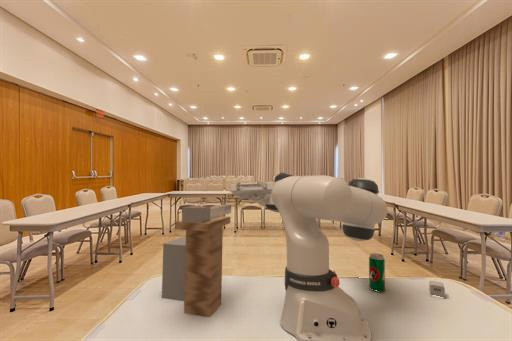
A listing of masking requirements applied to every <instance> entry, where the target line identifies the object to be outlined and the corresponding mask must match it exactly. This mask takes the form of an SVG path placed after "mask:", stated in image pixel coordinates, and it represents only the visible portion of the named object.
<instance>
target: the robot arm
mask: <svg viewBox="0 0 512 341" xmlns="http://www.w3.org/2000/svg"><path fill="white" fill-rule="evenodd" d="M379 192H380V191H379V186H378V183H376V182H375V181H374V180H372V179H369V178H366V177H365V178H364V177H359V178H355V179H354V178H353V179H351V180H350V181H349V182H347V181H346V180H344V179H343V178H339V177H335V176H330V175H325V174H322V175H320V174H319V175H316V174H315V175H294V174H293V175H292V174H290V173H286V172H280V173H278V174H277V175H276V176H275V177H274V181H261V180H257V181H256V182H243V183H241V182H239V181H238V182H237V181H236V182H235V183H232V184H231V185H230V193H231V194H233V195H234V196H235V197H238V198H239V200H241V201H242V200H243V201H250V202H255V203H256V204H257V205H260V206H261V207H263V208H264V207H265V208H266V209H267V210H269V211H271V212H274V213H279V215H280V218H281V222H282V224H283V225H282V226H283V229H284V234H285V240H286V242H285V243H286V267H285V269H284V289H285V296H284V301H283V302H284V303H283V309H282V313H281V316H280V319H279V320H280V321H279V322H280V326H281V327H282V328H283V329H284V330H285V331H286V332H288V333H289V334H291V335H292V336H294V337H295V338H296V339H297V340H298V341H372V330H371V327H370V324H369V323H368V321H367V320H366V318H364V317H363V316H361V311H360V308H359V306H358V304H357V302H356V300H355V299H354V298H353V297H352V296H350V294H348V293H347V292H346V291H344V289H342V288H341V287H339V286H340V284H341V282H340V279H339V278H338V274H336V270H333V271H332V270H331V269H330V243H329V239H328V237H327V236H326V235H325V233H324V232H323V231H322V230H321V228H320V225H319V223H318V221H317V219H318V220H323V221H331V222H340V223H343V224H342V226H341V227H342V231H343V234H344V235H345V236H346V237H348V238H349V239H351V240H353V241H356V242H365V241H370V240H371V239H373V237H374V234H375V226H376V225H377V224H380V223H382V222H383V221H385V219H386V217H387V215H388V205H387V203H386V201H385V199H383V197H381V196H379V195H378V194H379Z"/></svg>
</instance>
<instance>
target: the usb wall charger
mask: <svg viewBox="0 0 512 341" xmlns="http://www.w3.org/2000/svg"><path fill="white" fill-rule="evenodd" d="M428 286H429V288H428V289H429V295H430V294H431V295H436V296H440V297H443V298H444V299H446V288H445V285H444V283H443V282H442V281H437V280H436V281H435V280H430V281H429V283H428ZM431 295H430V296H431Z"/></svg>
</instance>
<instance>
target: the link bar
mask: <svg viewBox="0 0 512 341" xmlns="http://www.w3.org/2000/svg"><path fill="white" fill-rule="evenodd" d="M181 209H182V211H181V213H182V214H181V220H182V222H187V223H205V222H208V221H210V219H213V218H216V217H219V216H225V215H226V216H227V215H229V214H231V213H232V204H218V205H214V206H203V205H202V206H201V205H188V206H183V207H182V208H181Z"/></svg>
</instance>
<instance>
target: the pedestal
mask: <svg viewBox="0 0 512 341" xmlns="http://www.w3.org/2000/svg"><path fill="white" fill-rule="evenodd" d="M162 246H163V247H162V248H163V249H162V273H161V274H162V275H161V276H162V278H161V280H162V282H161V298H162V299H169V300H175V301H176V300H177V301H183V302H184V292H185V251H186V235H183V236H181V237H178V238H175V239H173V240H170V241H167V242H164V243H163V244H162Z"/></svg>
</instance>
